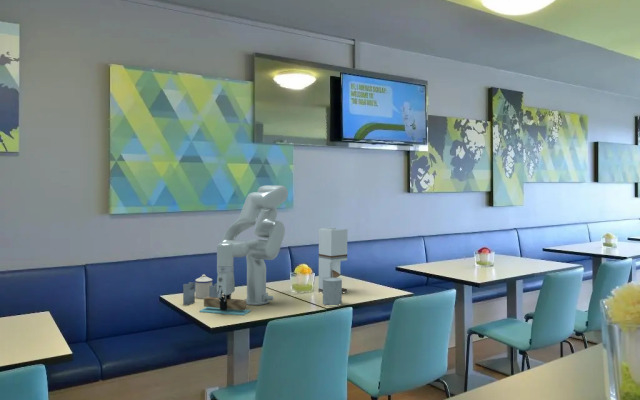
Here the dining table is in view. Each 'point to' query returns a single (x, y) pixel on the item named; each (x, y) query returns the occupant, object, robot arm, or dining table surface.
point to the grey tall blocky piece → (331, 253)
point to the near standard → (213, 291)
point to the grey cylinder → (332, 291)
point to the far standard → (189, 293)
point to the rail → (231, 303)
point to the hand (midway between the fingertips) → (225, 308)
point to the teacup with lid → (202, 287)
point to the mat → (224, 311)
